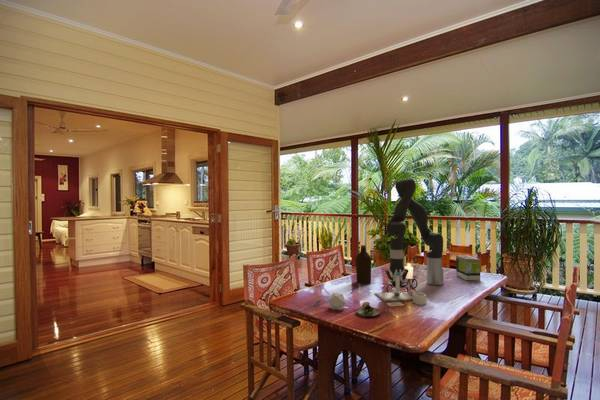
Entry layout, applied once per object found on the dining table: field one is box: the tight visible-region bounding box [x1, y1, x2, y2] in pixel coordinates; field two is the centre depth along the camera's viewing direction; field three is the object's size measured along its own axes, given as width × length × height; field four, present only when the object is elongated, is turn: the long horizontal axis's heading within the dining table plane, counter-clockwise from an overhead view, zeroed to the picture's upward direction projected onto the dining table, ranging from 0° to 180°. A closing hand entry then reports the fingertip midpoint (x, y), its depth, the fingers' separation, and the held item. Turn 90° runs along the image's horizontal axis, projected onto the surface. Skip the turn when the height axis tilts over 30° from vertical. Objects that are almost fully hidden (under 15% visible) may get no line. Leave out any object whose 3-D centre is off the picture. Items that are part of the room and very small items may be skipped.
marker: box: [393, 272, 401, 296], centre depth 187 cm, size 3×3×14 cm
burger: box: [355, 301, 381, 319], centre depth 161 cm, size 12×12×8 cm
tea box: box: [455, 254, 481, 281], centre depth 226 cm, size 15×10×15 cm, turn 179°
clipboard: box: [374, 291, 413, 304], centre depth 186 cm, size 20×16×1 cm
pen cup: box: [412, 292, 427, 306], centre depth 176 cm, size 6×6×4 cm
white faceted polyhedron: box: [328, 292, 347, 311], centre depth 169 cm, size 8×9×10 cm
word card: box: [385, 302, 405, 307], centre depth 174 cm, size 5×8×1 cm, turn 99°
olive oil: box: [355, 244, 372, 285], centre depth 219 cm, size 11×11×25 cm
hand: (396, 286), depth 187 cm, fingers closed on marker, 3 cm apart
